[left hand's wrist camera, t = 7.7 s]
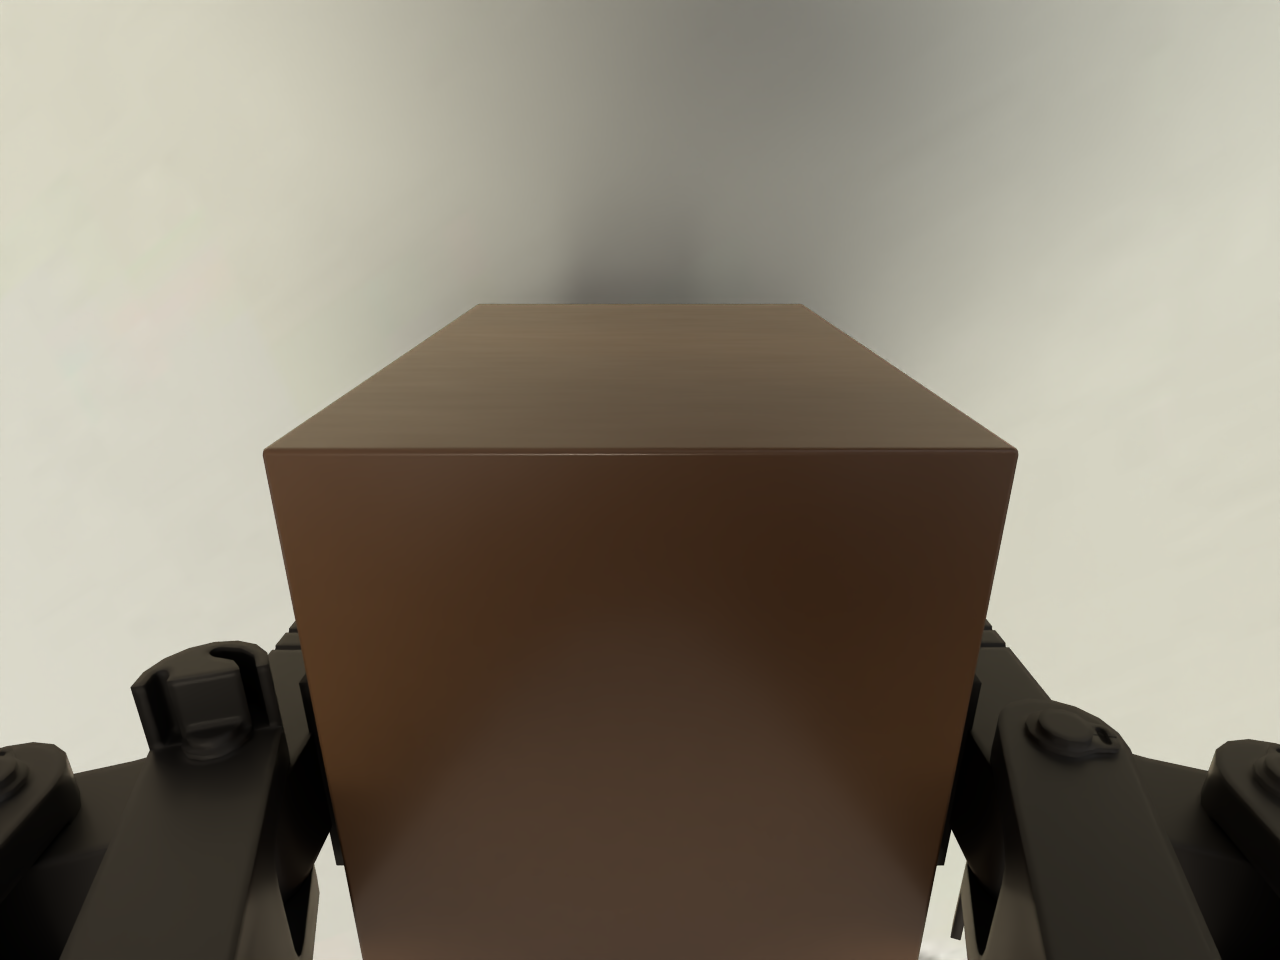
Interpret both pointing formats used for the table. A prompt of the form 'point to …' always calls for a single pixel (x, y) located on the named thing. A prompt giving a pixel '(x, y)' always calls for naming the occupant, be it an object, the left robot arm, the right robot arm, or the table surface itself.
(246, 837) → the left robot arm
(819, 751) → the post
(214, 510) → the table surface
